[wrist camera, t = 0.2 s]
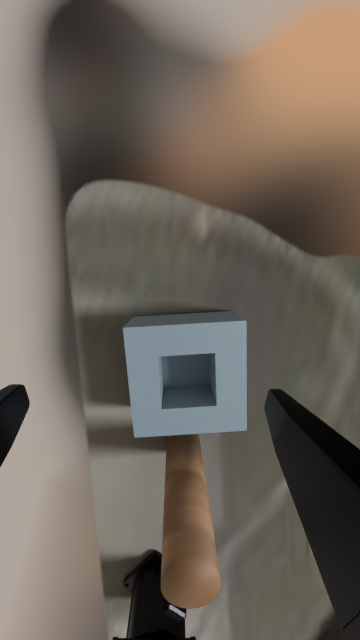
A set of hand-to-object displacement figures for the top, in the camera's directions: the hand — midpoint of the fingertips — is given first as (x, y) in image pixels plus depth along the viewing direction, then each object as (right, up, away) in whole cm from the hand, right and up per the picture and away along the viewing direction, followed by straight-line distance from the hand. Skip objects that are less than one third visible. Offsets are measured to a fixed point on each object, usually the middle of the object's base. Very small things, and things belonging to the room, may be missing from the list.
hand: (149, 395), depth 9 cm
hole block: (+2, -1, +16) cm, 16 cm away
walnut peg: (+1, -10, +18) cm, 21 cm away
